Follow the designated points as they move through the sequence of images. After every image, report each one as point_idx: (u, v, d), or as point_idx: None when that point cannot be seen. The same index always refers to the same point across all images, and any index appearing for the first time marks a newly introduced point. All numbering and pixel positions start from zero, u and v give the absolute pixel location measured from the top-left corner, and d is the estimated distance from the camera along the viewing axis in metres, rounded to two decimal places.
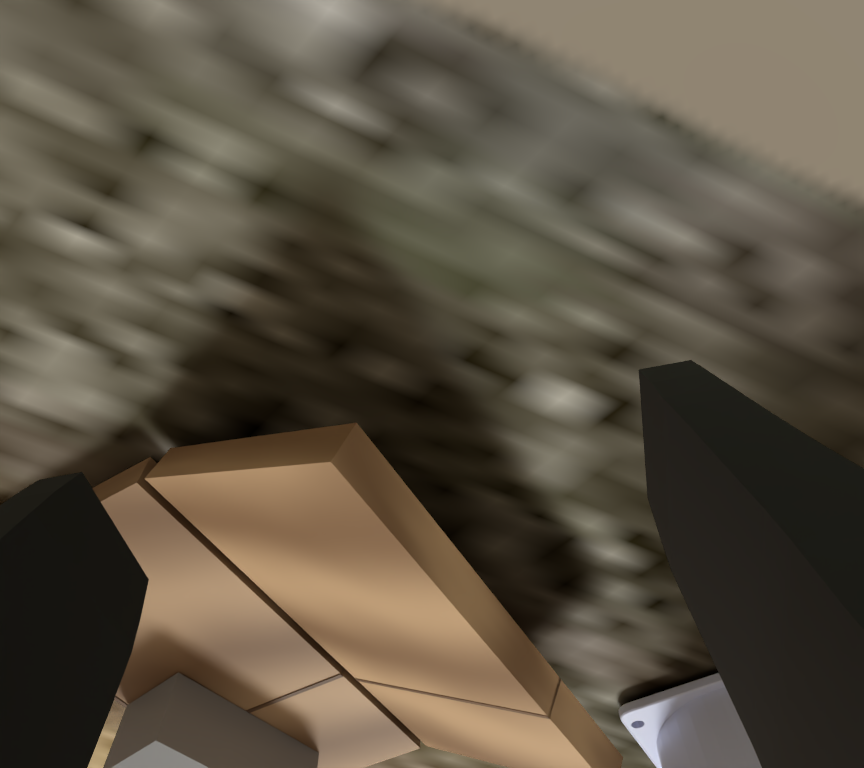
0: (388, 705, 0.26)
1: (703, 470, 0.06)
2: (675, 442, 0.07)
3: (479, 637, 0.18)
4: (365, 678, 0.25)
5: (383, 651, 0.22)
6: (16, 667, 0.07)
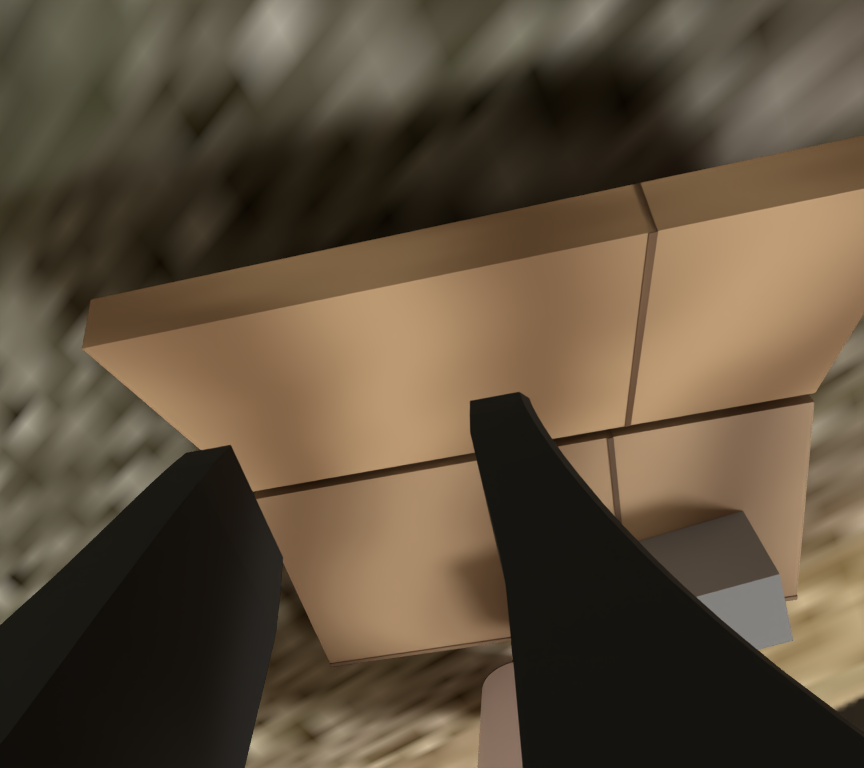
0: (694, 409, 0.19)
1: None
2: (480, 475, 0.07)
3: (426, 280, 0.13)
4: (620, 416, 0.19)
5: (529, 386, 0.17)
6: (194, 640, 0.07)
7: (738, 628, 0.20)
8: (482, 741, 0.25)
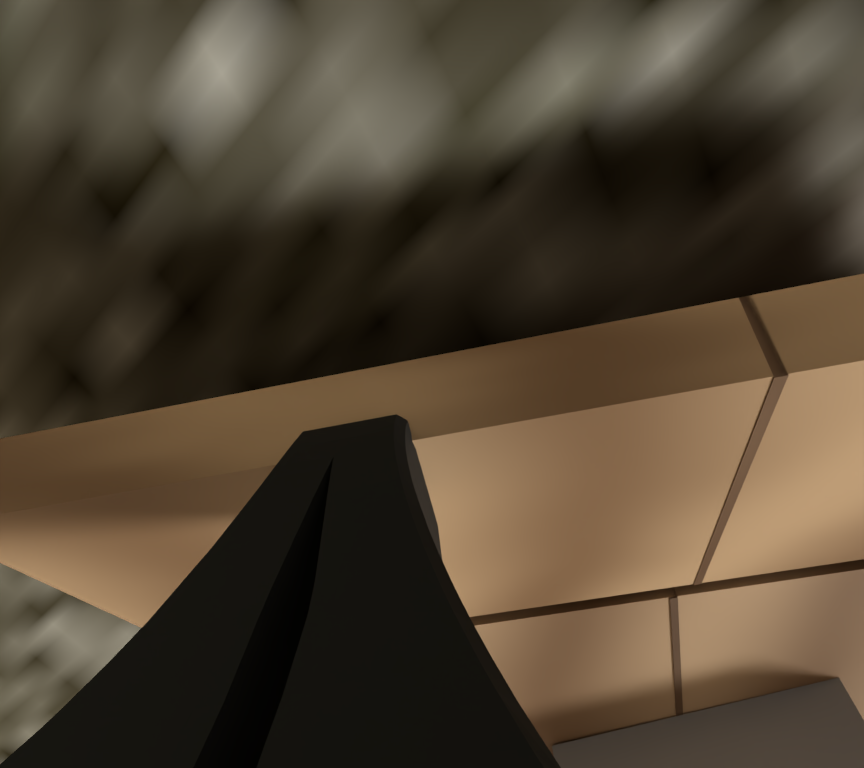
0: (787, 565, 0.14)
1: None
2: None
3: (430, 440, 0.08)
4: (689, 575, 0.14)
5: (572, 549, 0.12)
6: None
7: None
8: None
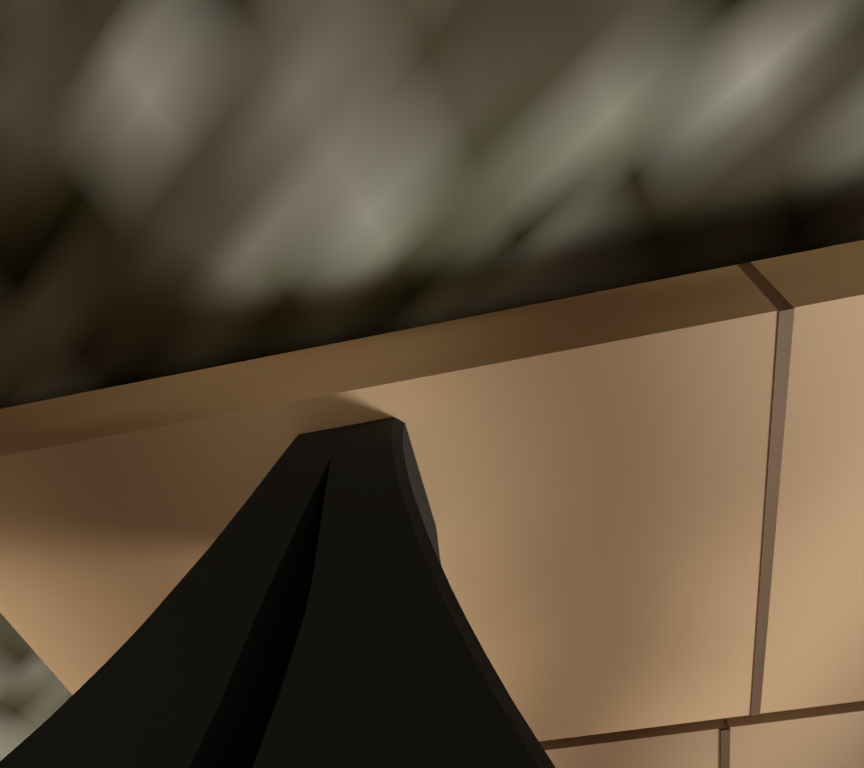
0: None
1: None
2: None
3: (415, 382, 0.08)
4: (742, 694, 0.12)
5: (590, 617, 0.10)
6: None
7: None
8: None
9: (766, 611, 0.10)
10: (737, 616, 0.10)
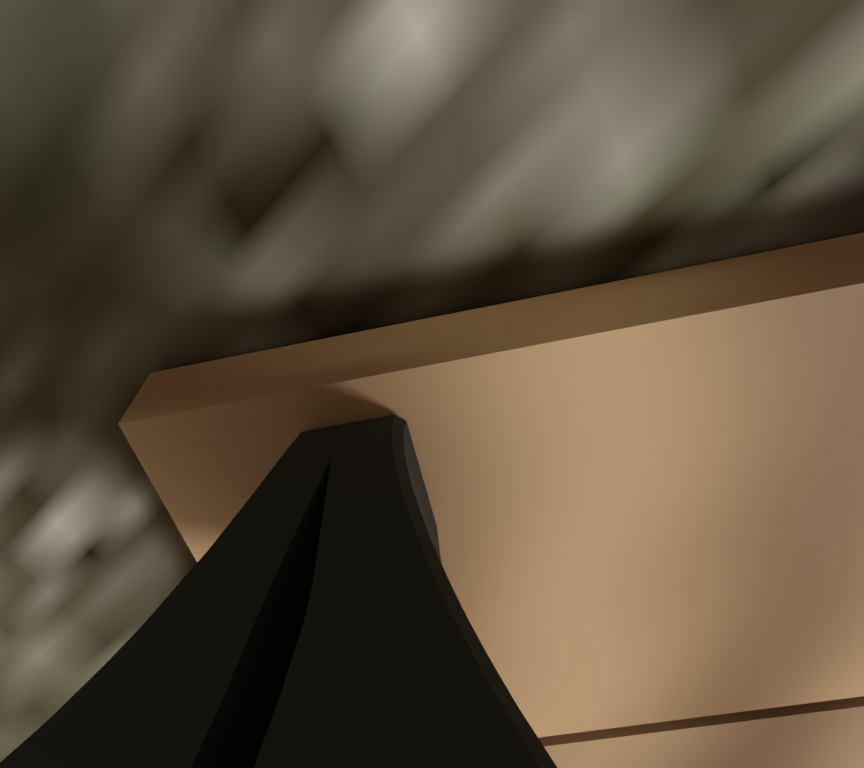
0: None
1: None
2: None
3: (682, 320, 0.08)
4: None
5: (801, 579, 0.10)
6: None
7: None
8: None
9: None
10: None
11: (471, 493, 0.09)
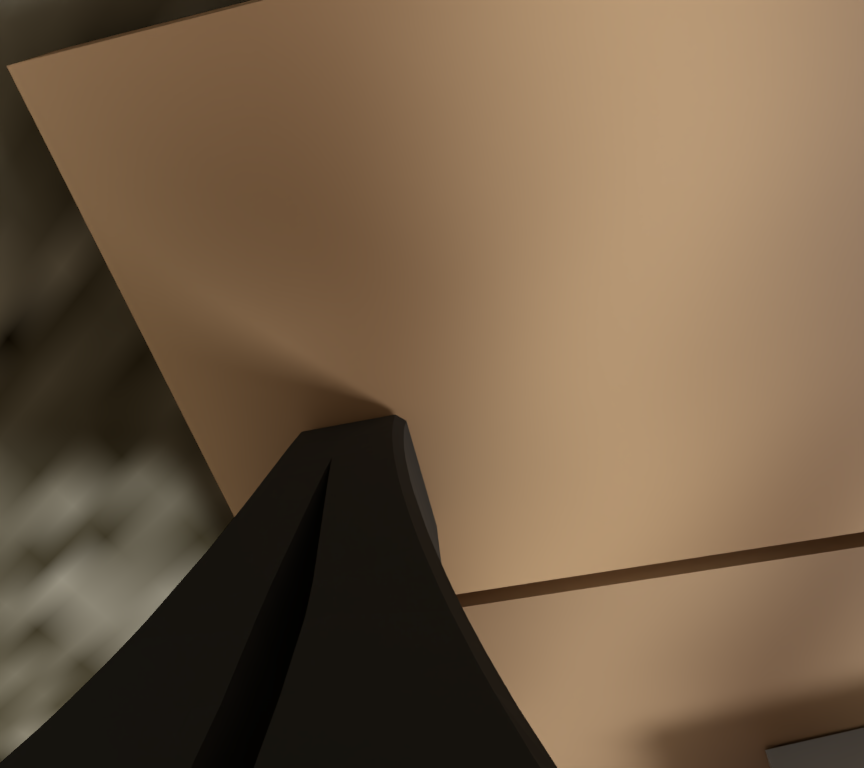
0: None
1: None
2: None
3: None
4: None
5: None
6: None
7: None
8: None
9: None
10: None
11: (478, 189, 0.07)
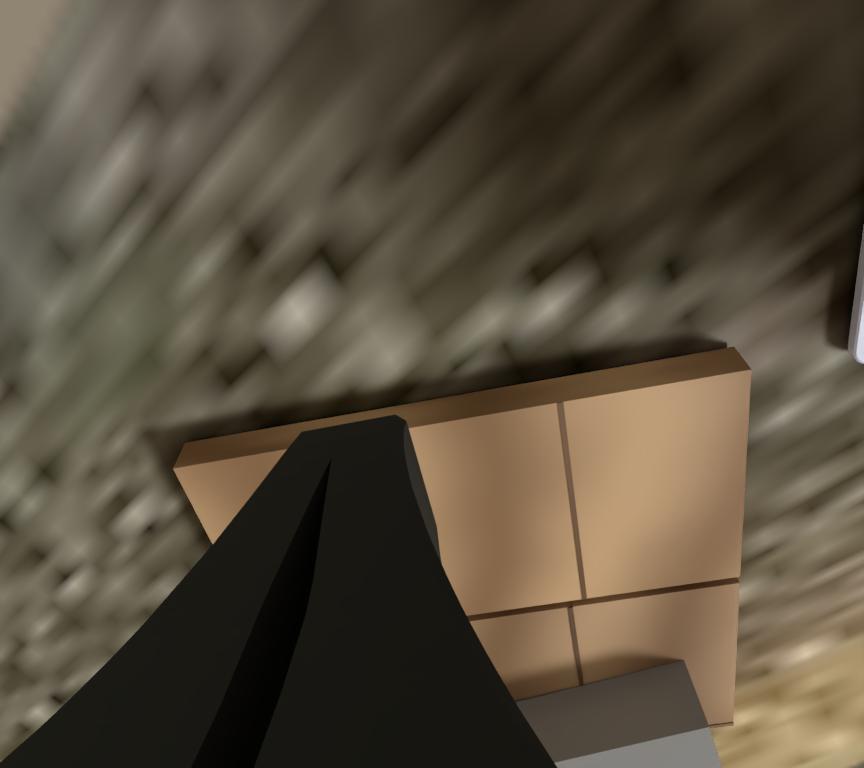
0: (638, 584, 0.23)
1: None
2: None
3: (409, 429, 0.19)
4: (575, 586, 0.23)
5: (494, 541, 0.21)
6: None
7: (677, 765, 0.24)
8: None
9: (578, 539, 0.21)
10: (565, 541, 0.21)
11: None
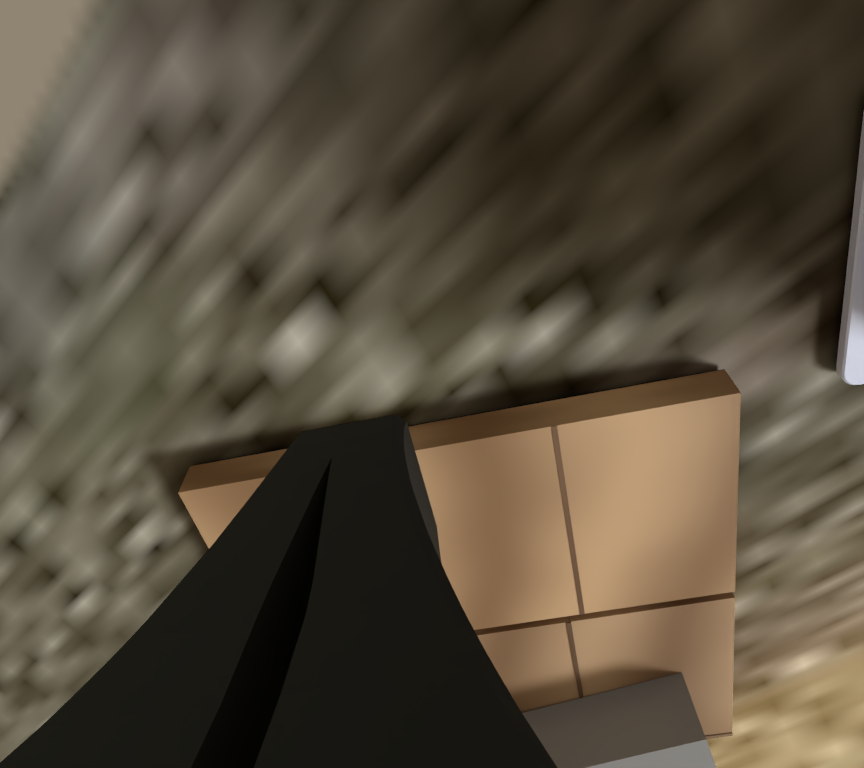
0: (634, 600, 0.23)
1: None
2: None
3: None
4: (573, 602, 0.23)
5: (492, 559, 0.22)
6: None
7: None
8: None
9: (575, 556, 0.22)
10: (561, 559, 0.22)
11: None
